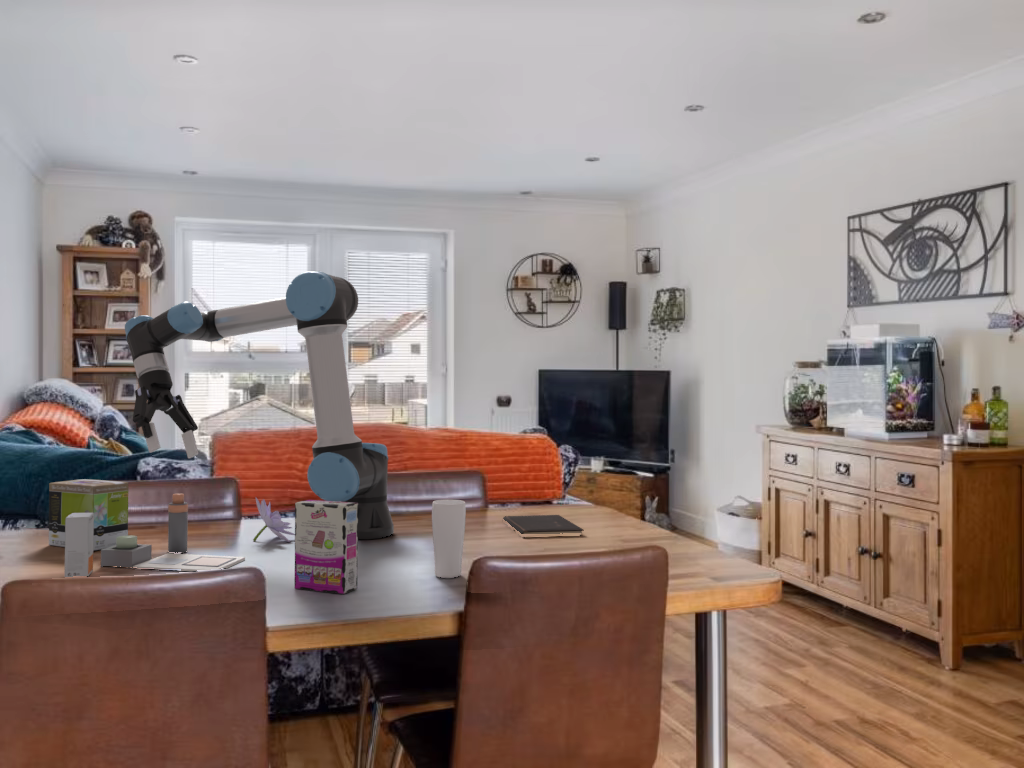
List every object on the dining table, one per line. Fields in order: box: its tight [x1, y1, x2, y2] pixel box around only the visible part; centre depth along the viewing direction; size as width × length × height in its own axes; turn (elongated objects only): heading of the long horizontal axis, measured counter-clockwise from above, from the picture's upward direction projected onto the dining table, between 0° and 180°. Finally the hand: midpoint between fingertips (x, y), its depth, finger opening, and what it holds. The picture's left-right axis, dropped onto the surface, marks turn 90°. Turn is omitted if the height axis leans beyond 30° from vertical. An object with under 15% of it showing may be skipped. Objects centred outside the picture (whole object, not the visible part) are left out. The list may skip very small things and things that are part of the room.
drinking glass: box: [431, 499, 467, 579], centre depth 174 cm, size 7×7×15 cm
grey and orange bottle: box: [167, 493, 189, 553], centre depth 192 cm, size 4×4×13 cm
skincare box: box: [63, 513, 94, 577], centre depth 170 cm, size 6×4×12 cm
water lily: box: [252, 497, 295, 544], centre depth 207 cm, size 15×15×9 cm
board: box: [133, 552, 246, 571], centre depth 181 cm, size 18×13×1 cm
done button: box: [116, 534, 138, 549], centre depth 180 cm, size 4×4×2 cm
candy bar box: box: [294, 499, 359, 595], centre depth 162 cm, size 11×5×16 cm, turn 69°
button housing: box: [100, 543, 153, 568], centre depth 180 cm, size 7×7×4 cm
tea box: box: [48, 478, 129, 552], centre depth 199 cm, size 15×10×15 cm, turn 65°
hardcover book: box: [502, 514, 584, 534], centre depth 228 cm, size 16×23×2 cm
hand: (174, 453), depth 207 cm, fingers open, 13 cm apart
